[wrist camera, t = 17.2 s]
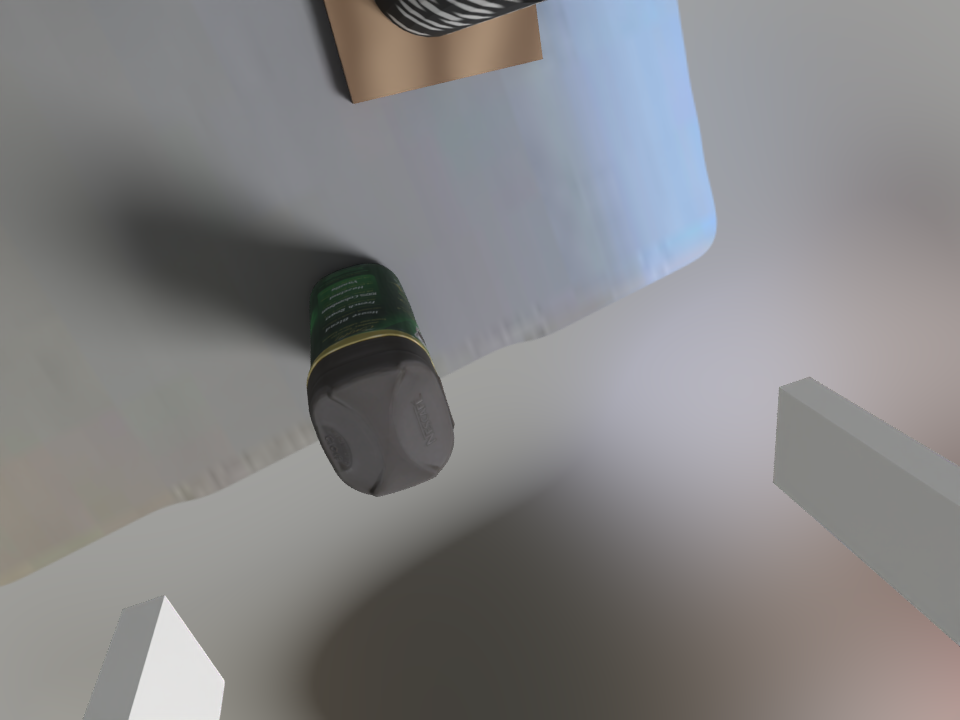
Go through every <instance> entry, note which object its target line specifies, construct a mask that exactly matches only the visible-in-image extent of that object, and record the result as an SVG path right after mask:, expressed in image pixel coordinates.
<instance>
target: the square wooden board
mask: <svg viewBox="0 0 960 720" xmlns="http://www.w3.org/2000/svg"><path fill="white" fill-rule="evenodd" d="M323 1H324V5H325V8H326V12H327V15H328V19H329V22H330V26H331V29H332V33H333V37H334V40H335V44H336V47H337V51H338V54H339V58H340V61H341V65H342V68H343V72H344V75H345V79H346V82H347V86H348V89H349V93H350V97H351V100H352V103H353V104H355V103H359V102H364V101H368V100H372V99H376V98H380V97H385V96H389V95H393V94H397V93H402V92H406V91H410V90H414V89H418V88H423V87H427V86H431V85H435V84H439V83H444V82H448V81H452V80H456V79H461V78H465V77H469V76H473V75H477V74H482V73H486V72H490V71H494V70H498V69H503V68H507V67H511V66H515V65H520V64H524V63H528V62H532V61H536V60H541V59H543V57H542V50H541V42H540V34H539V26H538V19H537V11H536V4H535V5H532V6H529V7H526V8H523V9H520V10H517V11H514V12H511V13H508V14H505V15H502V16H500V17H497V18H494V19H491V20H488V21H485V22H482V23H479V24H476V25H473V26H470V27H467V28H464V29H461V30H459V31H456V32H453V33H450V34H446V35H443V36H440V37H423V36H417V35H414V34H411V33H409V32H406V31H404V30H402V29H401V28H399V27H398V26H396V25H395V24H393V23H392V22H391V21H390V20H389V19H388V18H387V17H386V16H385V15H384V14H383V13H382V11H381V10H380V9H379V7H378V6H377V4H376V3H375V1H374V0H323Z"/></svg>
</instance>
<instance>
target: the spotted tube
mask: <svg viewBox="0 0 960 720" xmlns="http://www.w3.org/2000/svg"><path fill="white" fill-rule="evenodd" d="M374 1H375V3H376V4H377V6H378V7H379V9H380V10H381V11H382V13H383V14H384V15H385V16H386V17H387V18H388V19H389V20H390V21H391V22H392V23H393V24H395V25H396V26H398V27H399V28H401V29H402V30H404V31H406V32H409V33H411V34H414V35H417V36H423V37H440V36H443V35H446V34H450V33H453V32H456V31H459V30H461V29H464V28H467V27H470V26H473V25H476V24H479V23H482V22H485V21H488V20H491V19H494V18H497V17H500V16H502V15H505V14H508V13H511V12H514V11H517V10H520V9H523V8H526V7H529V6H532V5H535V4H538V3H540V2H543V1H546V0H374Z"/></svg>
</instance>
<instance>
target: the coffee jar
mask: <svg viewBox="0 0 960 720" xmlns="http://www.w3.org/2000/svg"><path fill="white" fill-rule="evenodd" d="M310 337H311V355H310V358H311V368H310V371H309V374H308V378H307V395H308V405H309V413H310V417H311V420H312V423H313V426H314V429H315V431H316V434H317V437H318V439H319V441H320V444H321V446H322V448H323V450H324V452H325V454H326V456H327V458H328V459H329V461H330V463H331V464H332V466H333V468H334V470H335V472H336V473H337V475H338V476H339V477H340V479H342V481H343V482H344V483H346V484H347V485H348V486H350V487H351V488H353V489H355V490H357V491H360V492H362V493H366V494H370V495H373V496H376V497H378V496H383V495H387V494H391V493H395V492H398V491H401V490H404V489H407V488H410V487H412V486H415V485H418V484H420V483H423V482H425V481H428V480H430V479H432V478H434V477H436V476H437V475H438V473H439V472H440V471H441V470H442V468H443V467H444V466H445V465H446V463H447V462H448V460H449V458H450V456H451V453H452V450H453V446H454V432H453V429H454V421H453V418H452V415H451V412H450V409H449V406H448V403H447V400H446V397H445V394H444V390H443V386H442V383H441V380H440V378H439V376H438V375H437V372H436V370H435V367H434V365H433V362H432V360H431V357H430V355H429V352H428V350H427V347H426V344H425V342H424V339H423V337H422V335H421V332H420V330H419V328H418V325H417V323H416V320H415V318H414V315H413V312H412V309H411V306H410V304H409V302H408V299H407V297H406V295H405V292H404V290H403V288H402V286H401V284H400V282H399V280H398V278H397V277H396V276H395V274H394V273H393V272H392V271H390V270H389V269H387V268H386V267H384V266H381V265H378V264H361V265H355V266H352V267H348V268H345V269H342V270H339V271H336V272H334V273H332V274H329V275H328V276H326V277H324V278H322V279H321V280H320V281H319V282H318V283H317V284H316V285H315V287H314V288H313V290H312V293H311V296H310Z"/></svg>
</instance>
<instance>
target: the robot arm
mask: <svg viewBox="0 0 960 720" xmlns="http://www.w3.org/2000/svg"><path fill="white" fill-rule="evenodd" d="M773 483H774V484H775V485H777V486H778V487H779V488H780V489H781V490H782V491H783V492H785V493H786V494H787V495H788V496H789V497H790V498H791V499H792V500H794V501H795V502H796V503H797V504H798V505H799V506H800V507H802V508H803V509H804V510H805V511H806V512H807V513H808V514H809V515H811V516H812V517H813V518H814V519H815V520H816V521H818V522H819V523H820V524H821V525H822V526H823V527H824V528H826V529H827V530H828V531H829V532H830V533H831V534H832V535H833V536H835V537H836V538H837V539H838V540H839V541H840V542H842V543H843V544H844V545H845V546H846V547H847V548H848V549H849V550H851V551H852V552H853V553H854V554H855V555H856V556H857V557H859V558H860V559H861V560H862V561H863V562H864V563H865V564H867V565H868V566H869V567H870V568H871V569H872V570H873V571H874V572H876V573H877V574H878V575H879V576H880V577H881V578H882V579H884V580H885V581H886V582H887V583H888V584H889V585H890V586H892V587H893V588H894V589H895V590H896V591H897V592H898V593H900V594H901V595H902V596H903V597H904V598H905V599H906V600H907V601H909V602H910V603H911V604H912V605H913V606H914V607H915V608H917V609H918V610H919V611H920V612H921V613H922V614H923V615H925V616H926V617H927V618H928V619H929V620H930V621H931V622H933V623H934V624H935V625H936V626H937V627H938V628H939V629H941V630H942V631H943V632H944V633H945V634H946V635H948V636H949V637H950V638H951V639H952V640H953V641H954V642H955V643H956V644H958V645H959V646H960V467H959V466H958V465H956V464H955V463H953V462H951V461H950V460H948V459H946V458H944V457H943V456H941V455H940V454H938V453H936V452H935V451H933V450H931V449H930V448H928V447H926V446H924V445H923V444H921V443H920V442H918V441H916V440H914V439H913V438H911V437H909V436H908V435H906V434H904V433H903V432H901V431H899V430H898V429H896V428H894V427H893V426H891V425H889V424H888V423H886V422H884V421H883V420H881V419H879V418H878V417H876V416H874V415H873V414H871V413H869V412H868V411H866V410H864V409H863V408H861V407H859V406H858V405H856V404H854V403H853V402H851V401H849V400H848V399H846V398H844V397H843V396H841V395H839V394H838V393H836V392H834V391H833V390H831V389H829V388H828V387H826V386H824V385H823V384H821V383H819V382H818V381H816V380H814V379H813V378H811V377H808V378H805V379H802V380H799V381H796V382H793V383H790V384H787V385H784V386H781V387H779V398H778V413H777V429H776V445H775V461H774V476H773ZM224 685H225V681H224V679H223V678H222V676H221V675H220V674H219V672H218V671H217V669H216V668H215V666H214V665H213V664H212V662H211V661H210V659H209V658H208V656H207V655H206V653H205V652H204V650H203V649H202V648H201V646H200V645H199V643H198V642H197V640H196V639H195V638H194V636H193V635H192V633H191V632H190V630H189V629H188V627H187V626H186V625H185V623H184V622H183V620H182V619H181V618H180V616H179V615H178V613H177V612H176V610H175V609H174V607H173V606H172V604H171V603H170V602H169V600H168V599H167V597H166V596H165V595H163V596H160V597H157V598H154V599H151V600H148V601H146V602H143V603H140V604H137V605H134V606H131V607H128V608H125V609H123V610H122V613H121V616H120V618H119V621H118V624H117V627H116V629H115V632H114V635H113V638H112V640H111V643H110V646H109V649H108V651H107V654H106V657H105V660H104V662H103V665H102V668H101V671H100V673H99V676H98V679H97V682H96V684H95V687H94V690H93V693H92V695H91V699H90V701H89V704H88V706H87V709H86V712H85V715H84V717H83V720H219V718H220V712H221V705H222V698H223V692H224Z"/></svg>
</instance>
